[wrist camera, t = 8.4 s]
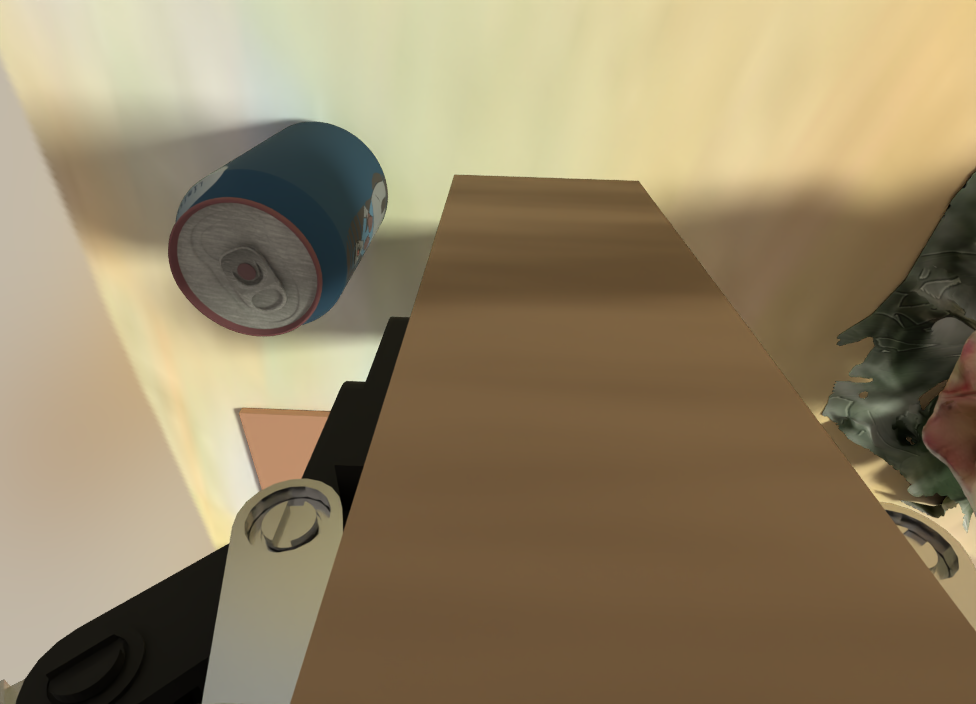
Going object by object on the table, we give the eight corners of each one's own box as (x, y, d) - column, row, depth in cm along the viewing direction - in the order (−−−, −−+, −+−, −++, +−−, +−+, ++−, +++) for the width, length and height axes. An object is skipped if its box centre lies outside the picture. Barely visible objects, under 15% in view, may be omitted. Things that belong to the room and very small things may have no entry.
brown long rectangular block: (454, 174, 15) (124, 1235, 2) (638, 181, 15) (1486, 1312, 2) (455, 332, 17) (318, 1204, 5) (611, 338, 17) (891, 1235, 5)
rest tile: (242, 407, 40) (238, 413, 39) (402, 414, 40) (401, 419, 39) (273, 514, 47) (271, 520, 46) (411, 520, 46) (410, 526, 46)
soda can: (244, 147, 30) (109, 225, 20) (352, 94, 28) (266, 150, 18) (313, 256, 33) (228, 369, 23) (413, 215, 31) (368, 318, 21)
